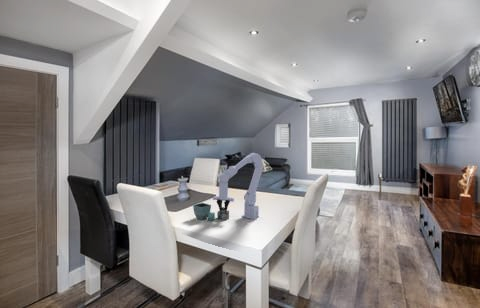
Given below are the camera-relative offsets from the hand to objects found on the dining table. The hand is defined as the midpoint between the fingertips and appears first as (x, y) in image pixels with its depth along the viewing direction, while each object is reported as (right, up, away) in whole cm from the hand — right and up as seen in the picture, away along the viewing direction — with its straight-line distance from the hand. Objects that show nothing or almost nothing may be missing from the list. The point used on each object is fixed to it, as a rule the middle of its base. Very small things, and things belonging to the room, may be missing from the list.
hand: (223, 211), depth 161 cm
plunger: (0, -4, 0) cm, 4 cm away
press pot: (0, -5, 0) cm, 5 cm away
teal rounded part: (-8, -5, -3) cm, 10 cm away
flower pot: (-14, -5, 0) cm, 15 cm away
